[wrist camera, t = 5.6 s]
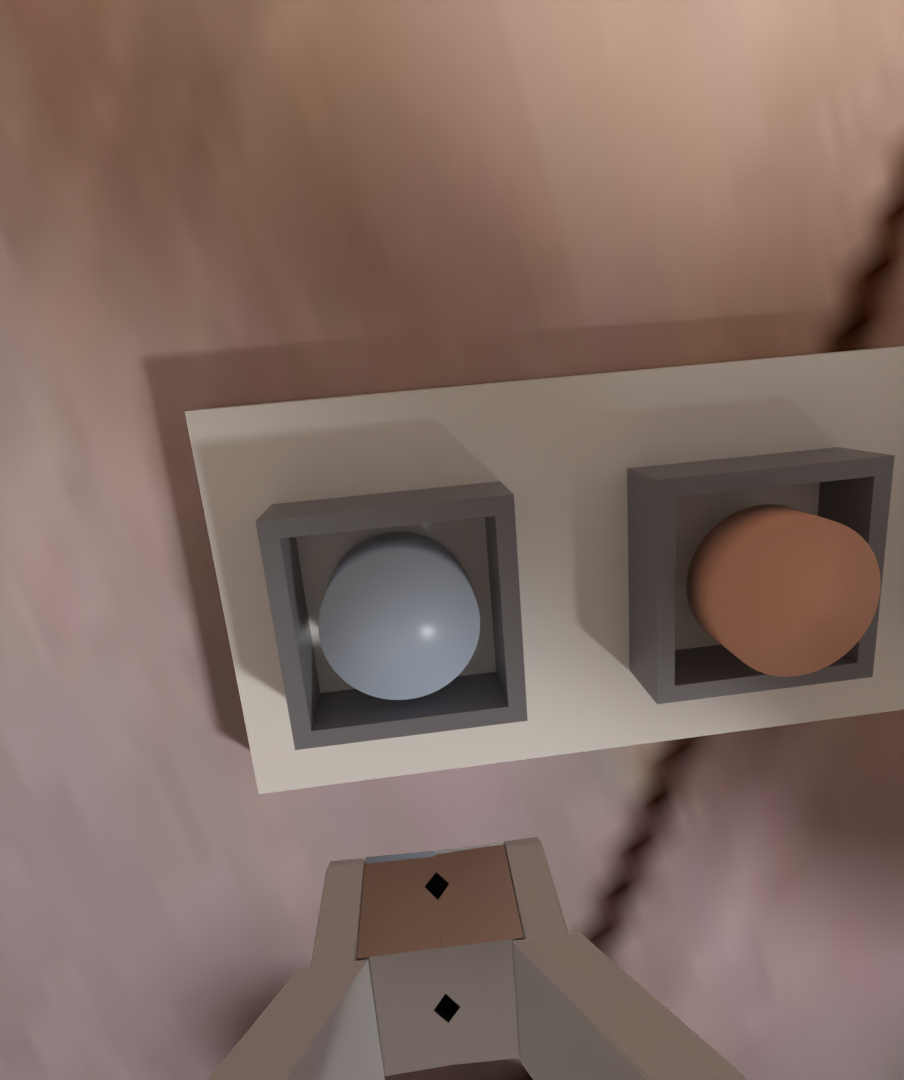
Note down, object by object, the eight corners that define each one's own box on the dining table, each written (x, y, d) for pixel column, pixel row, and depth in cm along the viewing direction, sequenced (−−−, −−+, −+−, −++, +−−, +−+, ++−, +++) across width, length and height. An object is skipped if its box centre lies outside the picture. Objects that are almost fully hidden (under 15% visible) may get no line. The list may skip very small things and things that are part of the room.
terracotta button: (836, 496, 20) (888, 510, 18) (825, 638, 21) (872, 666, 19) (687, 512, 20) (722, 528, 18) (685, 654, 21) (718, 686, 19)
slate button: (465, 524, 21) (473, 540, 19) (477, 660, 22) (485, 689, 20) (316, 540, 20) (307, 558, 18) (336, 676, 22) (330, 709, 20)
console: (1161, 322, 24) (1334, 309, 19) (1094, 656, 27) (1227, 709, 23) (203, 408, 21) (154, 415, 17) (269, 761, 25) (243, 842, 20)
